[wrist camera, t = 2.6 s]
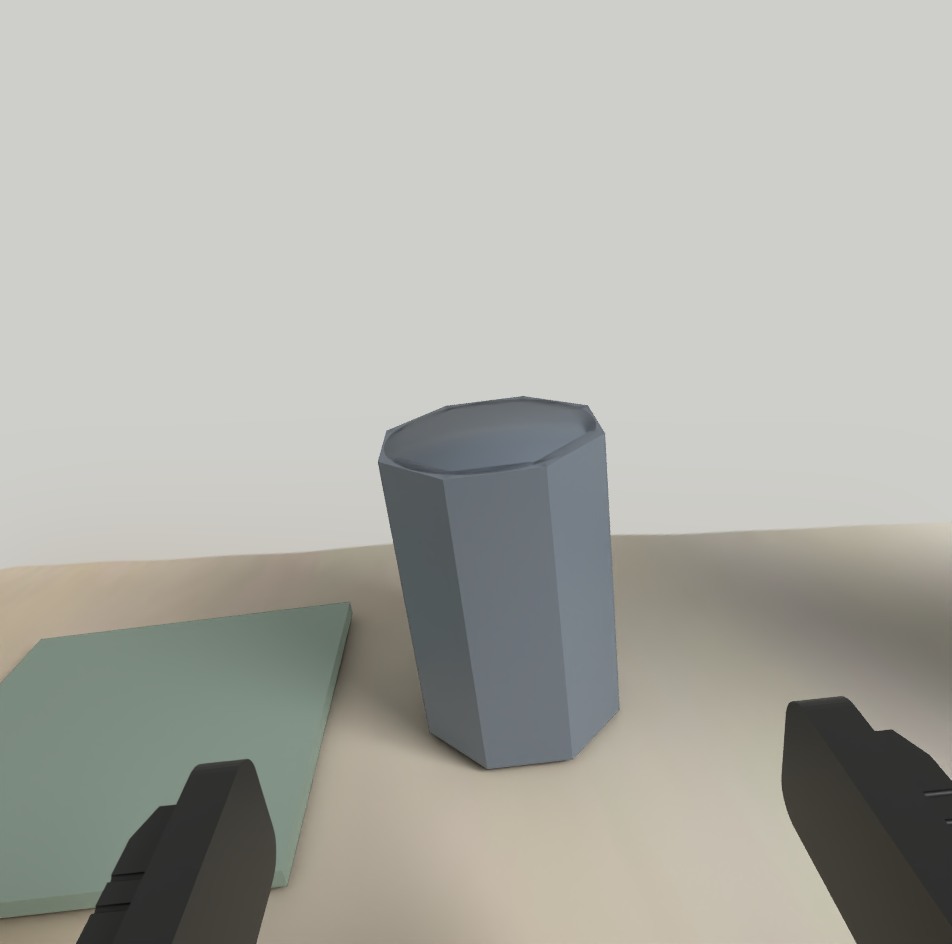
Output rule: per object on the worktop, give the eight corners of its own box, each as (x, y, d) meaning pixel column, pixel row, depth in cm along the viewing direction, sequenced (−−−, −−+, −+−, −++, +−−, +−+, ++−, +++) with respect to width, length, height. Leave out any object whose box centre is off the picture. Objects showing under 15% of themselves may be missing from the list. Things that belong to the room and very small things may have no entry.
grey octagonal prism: (594, 629, 28) (577, 389, 24) (633, 752, 22) (619, 457, 18) (433, 648, 28) (391, 412, 24) (427, 776, 22) (370, 488, 18)
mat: (352, 613, 31) (349, 601, 31) (287, 885, 19) (281, 870, 19) (45, 650, 31) (41, 639, 31) (-212, 942, 19) (-223, 927, 19)
